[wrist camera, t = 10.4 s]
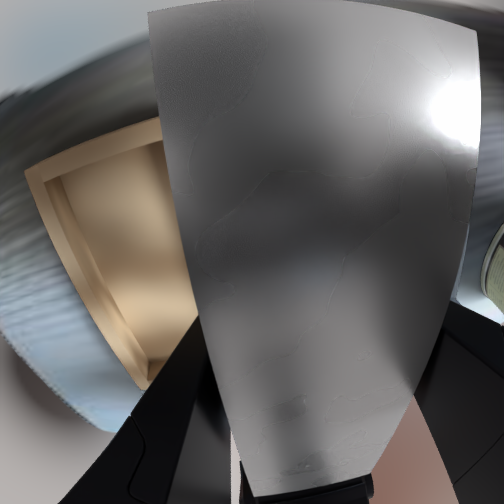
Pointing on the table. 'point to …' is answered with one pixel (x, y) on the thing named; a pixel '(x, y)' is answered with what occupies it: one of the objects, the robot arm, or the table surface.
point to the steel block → (317, 214)
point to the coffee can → (494, 271)
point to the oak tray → (120, 241)
